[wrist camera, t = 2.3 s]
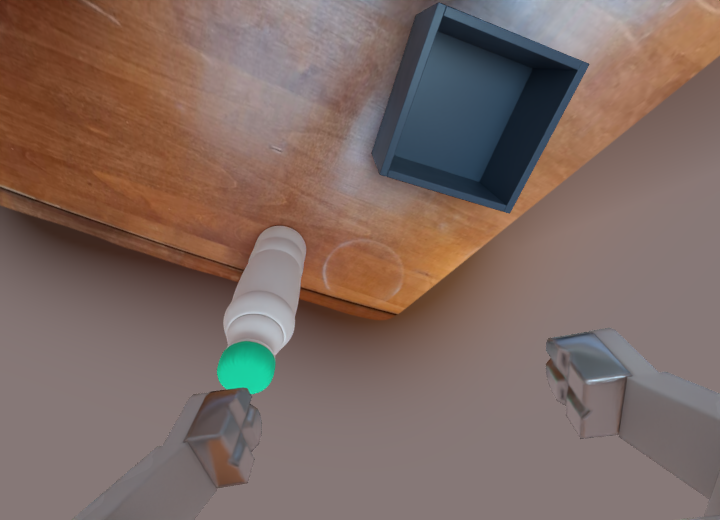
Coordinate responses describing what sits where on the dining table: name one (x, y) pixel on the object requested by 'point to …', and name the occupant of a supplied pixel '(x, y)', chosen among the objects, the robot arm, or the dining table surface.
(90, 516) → the robot arm
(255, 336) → the water bottle
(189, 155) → the dining table surface
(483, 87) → the bin
